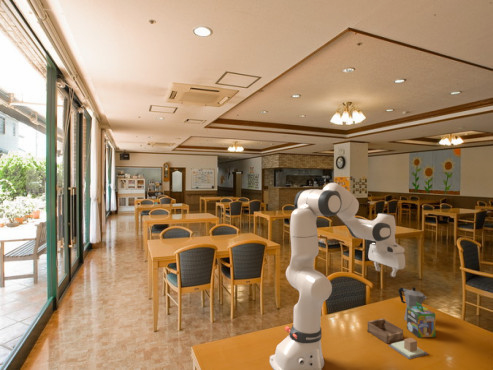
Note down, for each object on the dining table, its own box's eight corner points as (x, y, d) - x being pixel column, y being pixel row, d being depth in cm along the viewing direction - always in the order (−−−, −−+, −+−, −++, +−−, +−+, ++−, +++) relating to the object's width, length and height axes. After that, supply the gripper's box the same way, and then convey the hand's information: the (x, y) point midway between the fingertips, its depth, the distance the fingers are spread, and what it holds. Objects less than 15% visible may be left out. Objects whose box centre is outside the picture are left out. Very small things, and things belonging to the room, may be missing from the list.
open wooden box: (386, 343, 136) (386, 332, 136) (367, 331, 147) (367, 321, 147) (402, 339, 140) (402, 329, 139) (383, 328, 151) (383, 318, 151)
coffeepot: (431, 323, 156) (431, 289, 156) (420, 327, 151) (421, 292, 151) (403, 312, 169) (403, 281, 169) (393, 315, 165) (393, 283, 165)
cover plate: (409, 357, 125) (409, 345, 125) (391, 345, 134) (391, 334, 134) (424, 353, 128) (424, 342, 128) (405, 341, 137) (405, 331, 137)
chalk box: (436, 337, 142) (436, 306, 142) (417, 338, 141) (418, 307, 141) (423, 328, 151) (423, 299, 151) (406, 328, 151) (406, 299, 150)
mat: (409, 359, 124) (409, 358, 124) (388, 345, 134) (388, 344, 134) (428, 354, 128) (428, 353, 128) (406, 341, 138) (406, 340, 138)
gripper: (365, 242, 156) (365, 268, 156) (397, 250, 136) (397, 280, 136) (374, 241, 158) (374, 267, 158) (407, 249, 139) (407, 278, 139)
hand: (385, 273), depth 147 cm, fingers open, 8 cm apart
